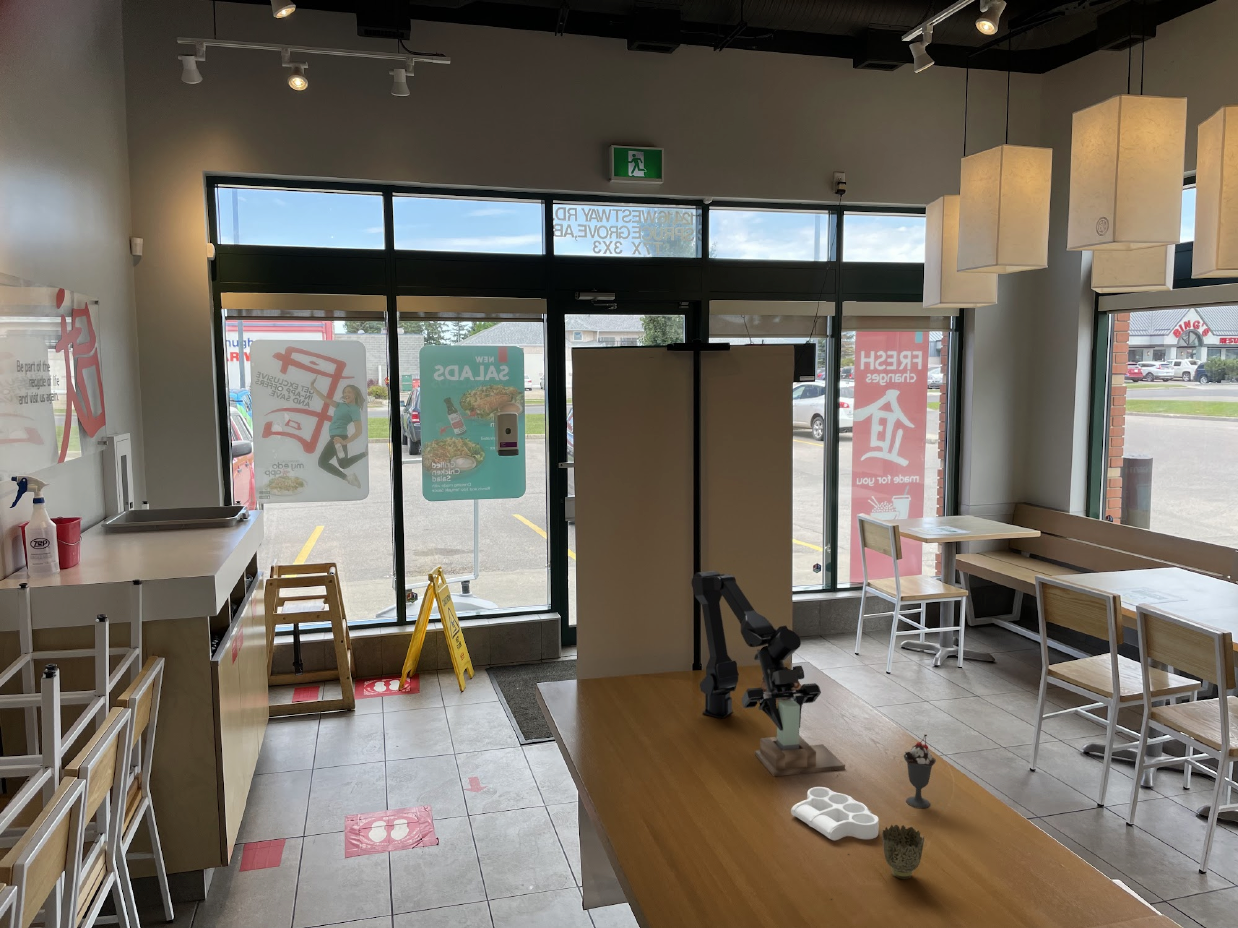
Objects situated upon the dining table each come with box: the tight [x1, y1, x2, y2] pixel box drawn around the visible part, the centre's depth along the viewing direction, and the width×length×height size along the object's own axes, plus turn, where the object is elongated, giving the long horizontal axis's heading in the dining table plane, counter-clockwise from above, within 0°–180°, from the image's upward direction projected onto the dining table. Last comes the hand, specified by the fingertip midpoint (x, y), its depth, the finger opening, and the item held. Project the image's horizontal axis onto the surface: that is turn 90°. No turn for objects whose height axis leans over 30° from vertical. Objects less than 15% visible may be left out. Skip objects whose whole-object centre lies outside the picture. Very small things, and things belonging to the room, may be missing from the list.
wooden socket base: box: [754, 735, 846, 777], centre depth 209 cm, size 18×12×4 cm, turn 102°
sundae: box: [903, 734, 937, 809], centre depth 188 cm, size 7×7×15 cm
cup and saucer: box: [760, 668, 803, 692], centre depth 256 cm, size 12×12×6 cm
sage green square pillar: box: [776, 699, 801, 751], centre depth 208 cm, size 4×4×12 cm
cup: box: [881, 824, 925, 880], centre depth 161 cm, size 8×7×8 cm
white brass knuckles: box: [790, 786, 880, 841], centre depth 181 cm, size 3×18×15 cm
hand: (790, 729), depth 206 cm, fingers closed on sage green square pillar, 4 cm apart
